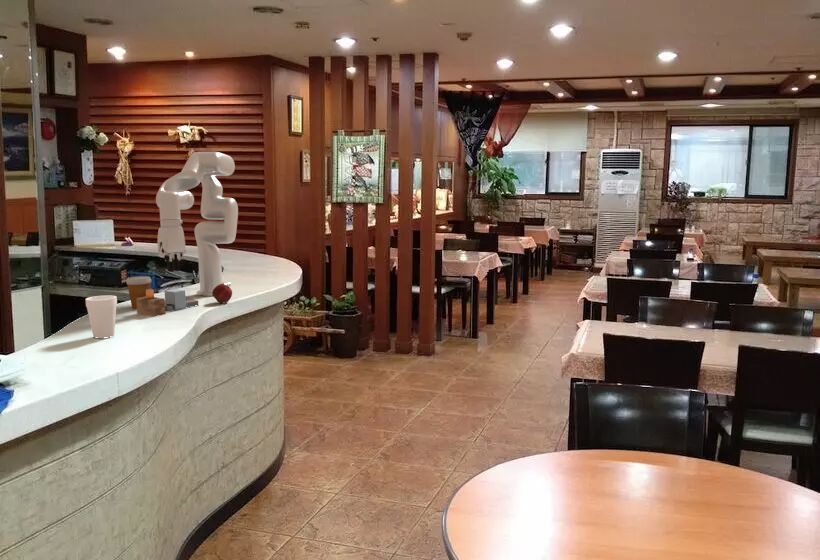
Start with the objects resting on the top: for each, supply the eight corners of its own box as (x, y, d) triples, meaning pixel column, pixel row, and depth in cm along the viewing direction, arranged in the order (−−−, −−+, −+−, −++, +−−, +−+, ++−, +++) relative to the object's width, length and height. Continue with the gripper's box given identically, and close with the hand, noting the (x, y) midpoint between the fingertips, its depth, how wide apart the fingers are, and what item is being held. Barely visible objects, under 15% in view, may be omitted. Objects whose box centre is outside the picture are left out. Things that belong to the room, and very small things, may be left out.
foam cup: (100, 341, 236) (97, 301, 235) (82, 338, 241) (79, 298, 239) (125, 335, 244) (122, 296, 242) (107, 332, 249) (105, 294, 247)
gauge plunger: (151, 298, 282) (150, 288, 281) (155, 298, 280) (155, 289, 279) (144, 299, 279) (144, 290, 279) (149, 299, 278) (148, 290, 277)
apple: (227, 304, 298) (226, 285, 296) (209, 304, 299) (208, 284, 298) (235, 301, 305) (234, 282, 304) (217, 301, 306) (216, 282, 305)
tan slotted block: (148, 311, 285) (147, 296, 284) (165, 314, 280) (164, 298, 279) (137, 313, 281) (136, 298, 280) (154, 316, 276) (153, 300, 275)
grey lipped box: (175, 305, 294) (174, 289, 293) (186, 307, 290) (185, 290, 289) (165, 308, 289) (164, 290, 288) (175, 309, 286) (174, 292, 285)
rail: (191, 304, 299) (191, 299, 299) (198, 305, 297) (198, 300, 296) (160, 310, 286) (160, 305, 286) (167, 311, 284) (167, 306, 284)
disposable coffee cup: (157, 305, 298) (155, 275, 296) (146, 309, 289) (144, 279, 287) (134, 305, 299) (132, 275, 297) (123, 309, 290) (121, 279, 288)
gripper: (180, 222, 293) (183, 268, 296) (147, 224, 280) (150, 273, 283) (193, 222, 289) (196, 269, 292) (159, 225, 276) (163, 274, 279)
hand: (173, 270), depth 288 cm, fingers closed
